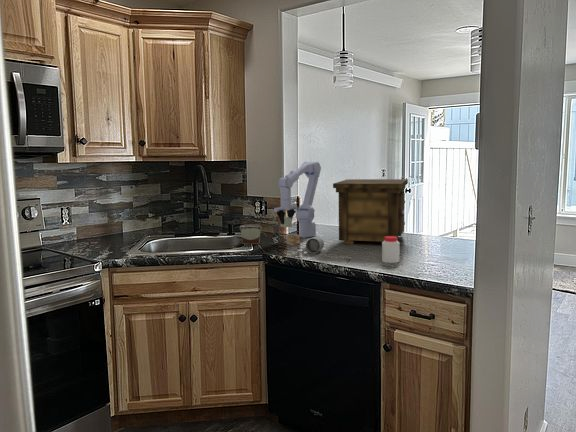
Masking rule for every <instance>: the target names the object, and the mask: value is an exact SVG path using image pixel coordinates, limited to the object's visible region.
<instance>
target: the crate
mask: <svg viewBox="0 0 576 432" xmlns="http://www.w3.org/2000/svg"><path fill="white" fill-rule="evenodd" d="M408 184H409V179H408V178H402V179H401V178H400V179H399V178H398V179H397V178H389V179H388V178H387V179H385V178H379V179H378V178H377V179H376V178H375V179H361V178H358V179H357V178H356V179H355V178H353V179H348V178H347V179H344V180H340V181H337V182H334V183H333V184H332V188H333V189H335V193H338V241H343V243H344V245H354V244H355V241H361V242H362V241H363V242H380V243H382V242H383V241H384V240H385V236H396V237H397V241H398V242H399V237H401V236H402V234H403V232H404V231H405V225H406V221H405V213H404V210H405V203H406V200H405V192H404V190H405V189H406V186H407V185H408Z"/></svg>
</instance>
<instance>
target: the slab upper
mask: <svg viewBox="0 0 576 432" xmlns="http://www.w3.org/2000/svg"><path fill="white" fill-rule="evenodd" d="M300 238H301V237H299V234H296V233H292V234H291V233H290V234H288V235H287V234H286V241H287V240H290V241H295V240H300Z"/></svg>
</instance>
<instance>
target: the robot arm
mask: <svg viewBox="0 0 576 432" xmlns="http://www.w3.org/2000/svg"><path fill="white" fill-rule="evenodd" d="M321 171H322V167H321V163H320V162H319V161H304V162H302V163H301V165H300V167H298V168H297V169H296V170H291V171H289V173H287V174H286V175H285V176H284V177H279V179H278V181H277V186H278V187H279V191H280V206H279V207H274V208H273V210H274V211H273V212H276V214H277V216H278V218H279V221H280V225H281V224H284V217H286V216H285V215H286V213H287V217H291V218H292V220H293V219H294V215H295V218H296V219H297V221H298V227H299V228H298V230H299V231H298V232H299V234H298V235H299V238H303V239H305V238H314V237H318V235H317V231H316V230H317V228H316V227H317V226H316V222H315V220H314V219H315V211H316V210H315V208H314V207H313V203H314V199H315V195H316V189H317V186H318V181H319V178H320V175H321ZM302 175H305V177H307V178H308V182H307V185H306V189H305V195H304V198H303V202H302V204H301V205H300V206H297V205H292V190H291V189H292V188H293V185H294V183H296V182H297V181H298V180H299V179H300V176H302Z"/></svg>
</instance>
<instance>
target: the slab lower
mask: <svg viewBox="0 0 576 432" xmlns="http://www.w3.org/2000/svg"><path fill="white" fill-rule="evenodd" d="M300 242H301V241H300V240H295V241H290V240H287V239H286V245H289V244H290V245H289V246H296V245H300V244H301V243H300Z"/></svg>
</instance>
